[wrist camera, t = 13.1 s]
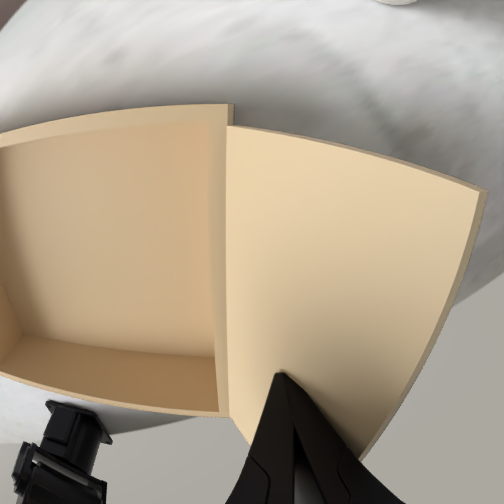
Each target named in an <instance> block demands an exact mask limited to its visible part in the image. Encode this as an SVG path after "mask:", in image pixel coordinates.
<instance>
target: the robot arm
mask: <svg viewBox="0 0 504 504" xmlns="http://www.w3.org/2000/svg"><path fill="white" fill-rule="evenodd" d="M45 405H46V407H47V408H48V409H49V411H50V412H51V414H52V415H51V417H50V419H49V422H48V424H47V426H46V429H45V431H44V434H43V435H44V437H43V439H42V442H41V445H40V447H38V446H37V445H36V444H35V443H33V442H32V443H31V444H30V443H27V442H23V444H22V446H21V449H20V451H19V453H18V456H17V459H16V462H15V465H14V469H13V472H12V475H11V476H12V478H13V480H14V486H15V487H14V492H15V493H16V494H18V499H17V502H16V504H106V493H107V482H105V481H103V480H99V479H97V478H94V477H92V476H91V472H92V469H93V465H94V462H95V458H96V455H97V451H98V448H99V445H100V443H105V444H109V445H112V442H113V441H112V439H111V437H110V436H109V434H108V433H107V431H106V430H105V428H104V427H103V425H102V423H101V422H100V420H99V418H98V417H97V415H96V414H95V413H93V412H89V411H85V410H81V409H77V408H73V407H69V406H65V405H61V404H58V403H54V402H50V401H46V403H45ZM32 460H35V461H37V464H35V463H34V462H32ZM225 504H406V503H404V502H402V501H401V500H400V499H398V498H397V497H396V496H395V495H394V494H393V493H392V492H391V491H390V490H388V489H387V488H386V487H385V486H384V485H383V484H382V483H381V482H380V481H379V480H378V479H377V478H376V477H374V476H373V475H372V474H371V473H370V472H369V471H368V470H367V468H365V466H363V464H362V463H361V462H360V461H359V460H358V458H357V457H356V456H355V455H354V453H353V452H352V451H351V450H350V448H349V447H347V445H346V443H345V442H344V441H343V440H342V438H341V437H340V436H339V434H338V433H337V432H336V430H335V429H334V428H333V427H332V425H331V424H330V423H329V421H328V420H327V419H326V417H325V416H324V415H323V413H322V412H321V411H320V409H319V408H318V407H317V405H316V404H315V403H314V401H313V400H312V399H311V397H310V396H309V395H308V393H307V392H306V391H305V390H304V389H303V388H302V387H300V386H299V385H298V384H297V383H296V382H295V381H294V380H292V379H291V378H290V377H289V376H288V375H287V374H286V373H284V372H276V373H275V374H274V376H273V379H272V382H271V386H270V389H269V392H268V395H267V399H266V402H265V405H264V408H263V411H262V414H261V417H260V420H259V423H258V426H257V429H256V432H255V435H254V438H253V441H252V444H251V447H250V450H249V453H248V457H247V458H246V461H245V464H244V467H243V469H242V472H241V474H240V477H239V479H238V481H237V483H236V485H235V487H234V489H233V491H232V493H231V494H230V496H229V498H228V500H227V501H226V503H225Z"/></svg>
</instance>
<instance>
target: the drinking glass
mask: <svg viewBox="0 0 504 504" xmlns="http://www.w3.org/2000/svg"><path fill="white" fill-rule="evenodd" d="M375 1H378V2H381V3H385V4H390V5H405V4H410V3H413V2H415V1H417V0H375Z"/></svg>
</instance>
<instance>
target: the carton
mask: <svg viewBox="0 0 504 504" xmlns="http://www.w3.org/2000/svg"><path fill="white" fill-rule="evenodd" d="M227 126H234V104H191V105H170V106H155V107H143V108H133V109H123V110H115V111H107V112H100V113H93V114H87V115H81V116H75V117H69V118H64V119H59V120H54V121H49V122H44V123H40V124H35V125H31V126H27V127H23V128H19V129H15V130H11V131H8V132H4V133H1V134H0V376H3V377H6V378H9V379H12V380H14V381H17V382H21V383H24V384H27V385H30V386H33V387H37V388H40V389H43V390H47V391H51V392H54V393H58V394H62V395H66V396H70V397H74V398H78V399H83V400H87V401H92V402H97V403H102V404H107V405H112V406H118V407H124V408H130V409H136V410H143V411H151V412H159V413H168V414H177V415H189V416H202V417H223V418H230V416H229V389H228V356H227V311H226V140H227Z"/></svg>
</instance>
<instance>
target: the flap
mask: <svg viewBox="0 0 504 504" xmlns="http://www.w3.org/2000/svg"><path fill="white" fill-rule="evenodd" d="M487 194H488V190H486V189H483V188H481V187H478V186H476V185H473V184H471V183H468V182H466V181H463V180H460V179H457V178H455V177H452V176H449V175H446V174H444V173H441V172H438V171H435V170H432V169H429V168H426V167H423V166H420V165H416V164H413V163H410V162H407V161H403V160H400V159H397V158H393V157H390V156H386V155H383V154H379V153H375V152H372V151H368V150H364V149H360V148H356V147H352V146H348V145H344V144H339V143H335V142H331V141H326V140H321V139H317V138H312V137H307V136H302V135H297V134H291V133H286V132H280V131H274V130H268V129H262V128H255V127H248V126H227V140H226V311H227V356H228V389H229V416H230V417H231V419H232V420H233V422H234V423H235V425H236V426H237V427H238V429H239V430H240V432H241V433H242V435H243V436H244V438H245V439H246V440H247V442H248V443H249V445H250V446H251V444H252V441H253V438H254V435H255V432H256V429H257V426H258V423H259V420H260V417H261V414H262V411H263V408H264V405H265V402H266V399H267V395H268V392H269V389H270V386H271V382H272V379H273V376H274V374H275V373H276V372H284V373H286V374H287V375H288V376H289V377H290V378H291V379H292V380H294V381H295V382H296V383H297V384H298V385H299V386H300V387H302V388H303V389H304V390H305V391H306V392H307V393H308V395H309V396H310V397H311V399H312V400H313V401H314V403H315V404H316V405H317V407H318V408H319V409H320V411H321V412H322V413H323V415H324V416H325V417H326V419H327V420H328V421H329V423H330V424H331V425H332V427H333V428H334V429H335V430H336V432H337V433H338V434H339V436H340V437H341V438H342V440H343V441H344V442H345V443H346V445H347V447H349V448H350V450H351V451H352V452H353V453H354V455H355V456H356V457H357V458H358V460H359V461H360V462H361V461H362V460H363V459H364V458H365V456H366V455H367V454H368V452H369V451H370V450H371V448H372V447H373V446H374V444H375V443H376V441H377V440H378V439H379V437H380V436H381V434H382V433H383V431H384V430H385V429H386V427H387V426H388V424H389V423H390V421H391V420H392V418H393V417H394V415H395V414H396V412H397V411H398V409H399V407H400V406H401V404H402V403H403V401H404V399H405V397H406V396H407V394H408V393H409V391H410V389H411V388H412V386H413V384H414V382H415V381H416V379H417V377H418V375H419V373H420V372H421V370H422V368H423V366H424V364H425V362H426V360H427V358H428V357H429V355H430V353H431V351H432V349H433V347H434V344H435V343H436V341H437V338H438V336H439V334H440V332H441V330H442V328H443V325H444V323H445V321H446V319H447V316H448V314H449V312H450V310H451V307H452V305H453V302H454V300H455V297H456V295H457V292H458V290H459V287H460V285H461V282H462V279H463V277H464V274H465V271H466V268H467V265H468V262H469V259H470V256H471V253H472V250H473V247H474V244H475V240H476V237H477V233H478V230H479V226H480V223H481V219H482V215H483V211H484V207H485V203H486V198H487Z"/></svg>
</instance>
